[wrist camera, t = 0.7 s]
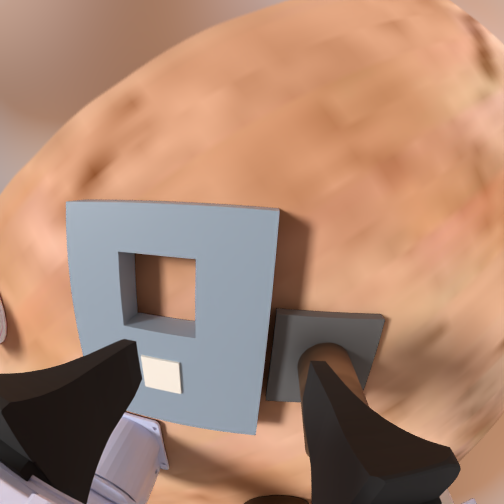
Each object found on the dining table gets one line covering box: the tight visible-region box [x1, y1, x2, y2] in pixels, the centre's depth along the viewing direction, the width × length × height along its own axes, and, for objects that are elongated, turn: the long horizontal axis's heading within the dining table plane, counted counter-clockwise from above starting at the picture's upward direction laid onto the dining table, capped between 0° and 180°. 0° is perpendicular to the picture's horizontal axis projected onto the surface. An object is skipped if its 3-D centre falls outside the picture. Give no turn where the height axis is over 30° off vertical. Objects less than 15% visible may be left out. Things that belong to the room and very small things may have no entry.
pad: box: [266, 308, 385, 402], centre depth 20 cm, size 8×8×1 cm
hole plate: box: [66, 200, 280, 435], centre depth 20 cm, size 18×15×3 cm
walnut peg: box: [297, 342, 369, 457], centre depth 16 cm, size 4×4×8 cm
